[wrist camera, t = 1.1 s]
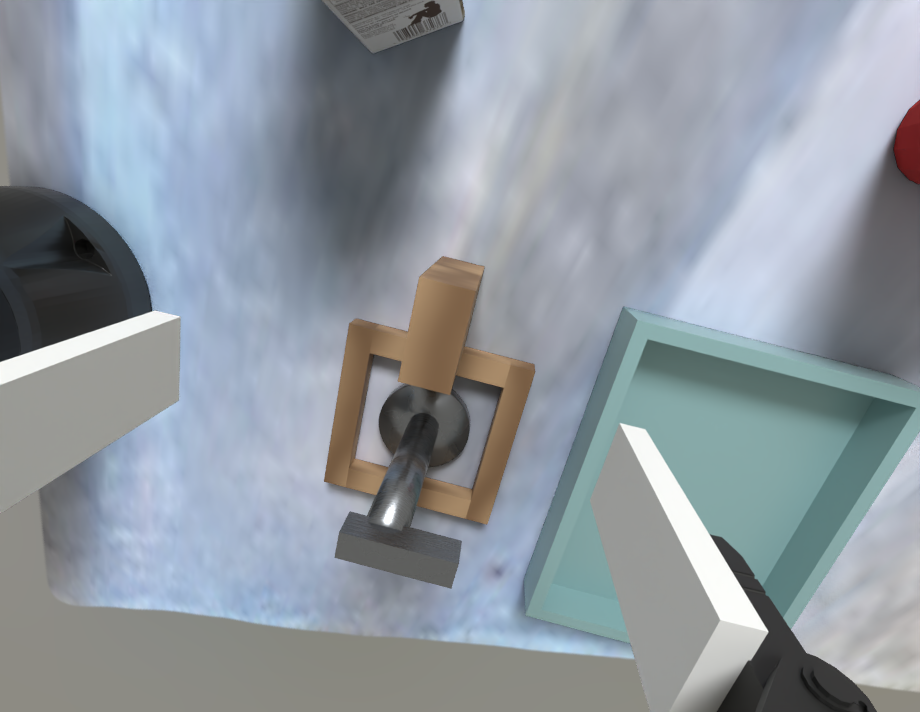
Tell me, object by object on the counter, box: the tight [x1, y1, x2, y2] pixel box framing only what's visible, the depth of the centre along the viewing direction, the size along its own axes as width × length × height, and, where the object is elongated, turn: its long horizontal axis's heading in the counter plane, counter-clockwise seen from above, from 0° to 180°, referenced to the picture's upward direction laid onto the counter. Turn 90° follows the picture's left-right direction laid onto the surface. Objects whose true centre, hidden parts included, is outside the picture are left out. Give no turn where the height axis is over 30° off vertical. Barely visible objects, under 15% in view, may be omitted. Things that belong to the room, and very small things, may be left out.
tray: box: [524, 307, 920, 644], centre depth 35 cm, size 19×25×4 cm
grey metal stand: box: [335, 384, 470, 588], centre depth 30 cm, size 8×7×15 cm
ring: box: [324, 256, 535, 524], centre depth 31 cm, size 14×20×9 cm
